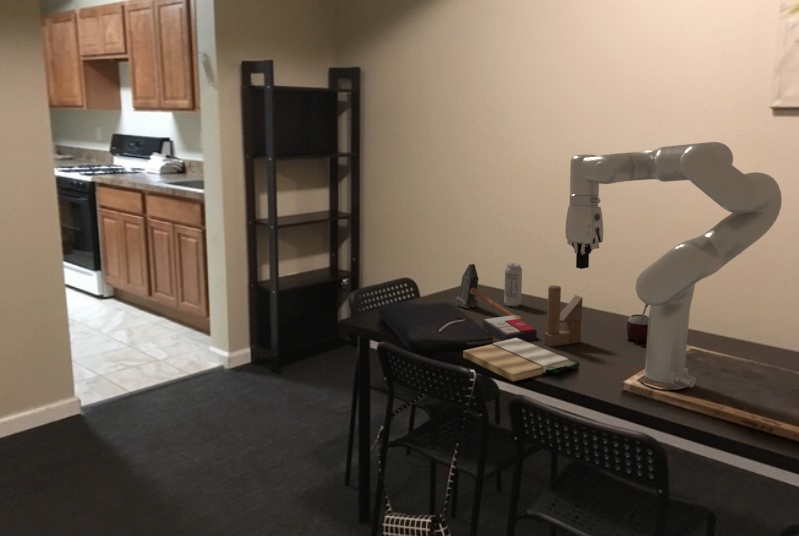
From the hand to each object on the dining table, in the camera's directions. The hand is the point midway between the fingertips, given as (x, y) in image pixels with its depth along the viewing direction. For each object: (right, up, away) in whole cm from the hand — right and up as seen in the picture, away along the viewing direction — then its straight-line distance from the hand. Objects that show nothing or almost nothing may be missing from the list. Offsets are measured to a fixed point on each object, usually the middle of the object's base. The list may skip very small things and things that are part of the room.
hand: (582, 267), depth 193 cm
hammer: (-19, -16, +51) cm, 57 cm away
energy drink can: (-9, -14, +62) cm, 64 cm away
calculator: (-16, -22, +29) cm, 39 cm away
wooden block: (-1, -23, +20) cm, 30 cm away
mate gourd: (+22, -23, +20) cm, 38 cm away
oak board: (-22, -27, +2) cm, 35 cm away
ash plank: (-13, -26, +7) cm, 30 cm away
